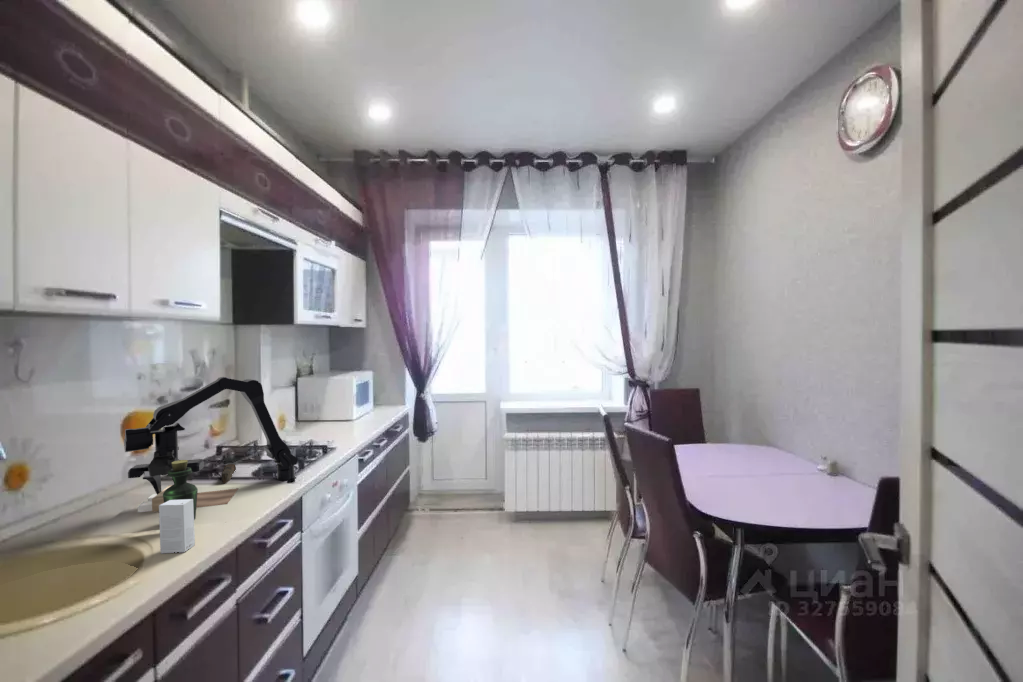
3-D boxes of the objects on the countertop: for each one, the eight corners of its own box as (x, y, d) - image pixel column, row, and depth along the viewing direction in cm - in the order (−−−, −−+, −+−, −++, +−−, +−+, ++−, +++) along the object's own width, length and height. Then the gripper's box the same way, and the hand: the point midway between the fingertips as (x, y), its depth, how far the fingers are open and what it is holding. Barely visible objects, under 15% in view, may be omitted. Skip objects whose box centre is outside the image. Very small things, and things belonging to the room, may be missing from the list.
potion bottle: (169, 533, 128) (167, 467, 127) (159, 526, 133) (157, 462, 132) (203, 523, 134) (201, 460, 134) (192, 517, 139) (190, 456, 139)
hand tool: (224, 474, 183) (224, 462, 183) (236, 472, 185) (235, 461, 185) (215, 488, 166) (215, 475, 166) (228, 487, 168) (228, 474, 168)
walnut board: (191, 496, 157) (191, 493, 157) (238, 491, 162) (238, 488, 162) (174, 513, 142) (174, 510, 142) (227, 507, 147) (227, 503, 147)
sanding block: (169, 500, 154) (168, 485, 154) (183, 498, 156) (183, 483, 156) (152, 515, 141) (151, 499, 141) (168, 513, 142) (167, 497, 142)
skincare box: (195, 545, 120) (194, 498, 120) (184, 552, 116) (183, 504, 116) (171, 546, 120) (169, 499, 120) (159, 553, 115) (157, 505, 115)
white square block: (143, 511, 145) (143, 501, 145) (158, 509, 146) (158, 500, 146) (137, 516, 141) (137, 506, 141) (153, 514, 142) (153, 504, 142)
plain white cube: (153, 503, 152) (152, 494, 152) (167, 501, 153) (167, 492, 153) (148, 507, 148) (147, 498, 148) (163, 505, 149) (162, 496, 149)
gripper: (118, 455, 137) (120, 508, 138) (192, 449, 143) (194, 499, 144) (135, 446, 148) (136, 496, 148) (203, 441, 154) (205, 488, 154)
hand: (168, 495), depth 148 cm, fingers open, 4 cm apart
